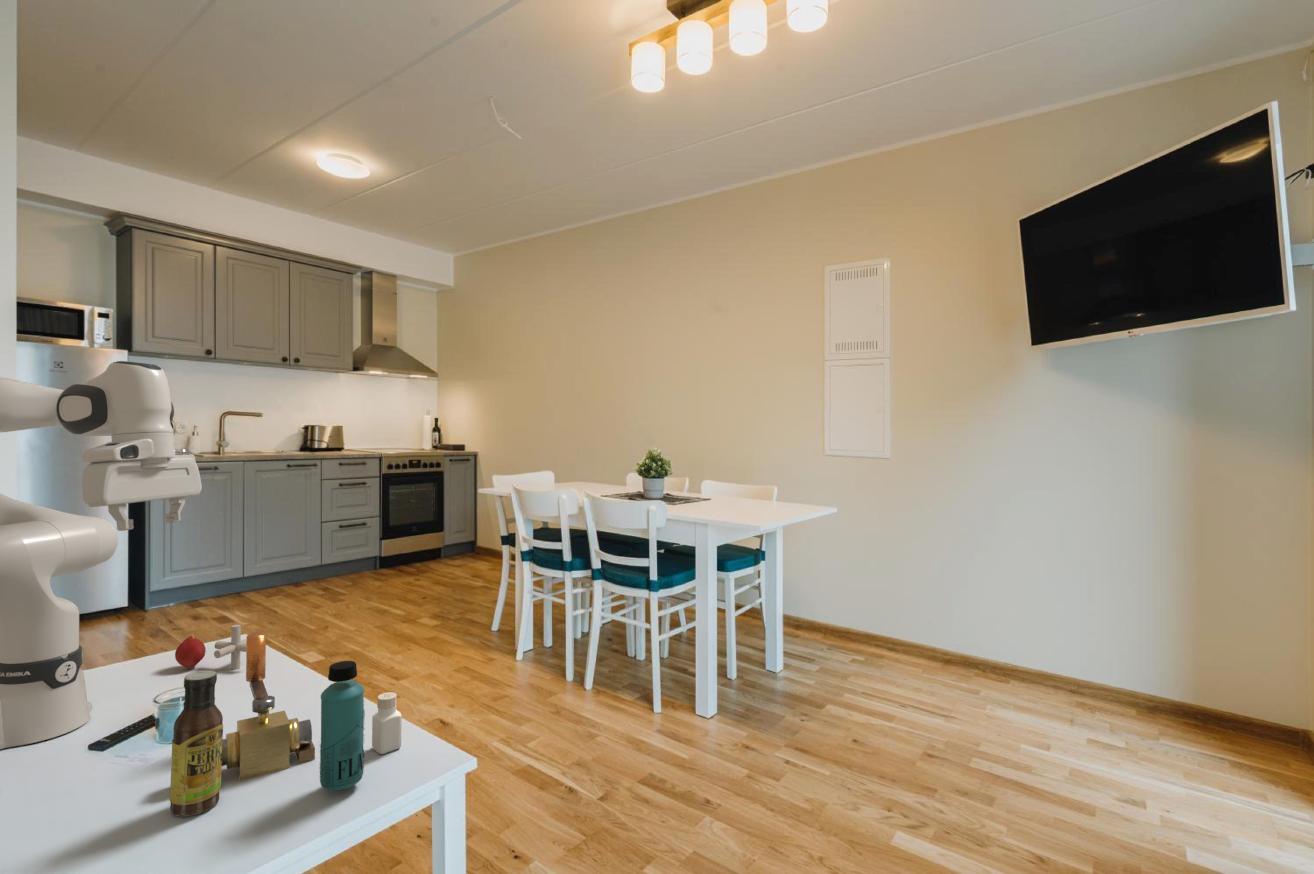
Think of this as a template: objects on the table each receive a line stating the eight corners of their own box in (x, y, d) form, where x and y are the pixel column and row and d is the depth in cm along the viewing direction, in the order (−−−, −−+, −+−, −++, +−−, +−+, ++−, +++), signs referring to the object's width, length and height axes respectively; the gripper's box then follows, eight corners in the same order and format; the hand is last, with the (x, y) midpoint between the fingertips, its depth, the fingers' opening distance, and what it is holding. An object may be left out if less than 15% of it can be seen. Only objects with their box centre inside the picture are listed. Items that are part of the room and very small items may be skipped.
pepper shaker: (370, 748, 114) (371, 695, 114) (392, 740, 117) (393, 689, 117) (380, 756, 111) (380, 702, 111) (402, 748, 114) (403, 695, 114)
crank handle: (275, 709, 107) (276, 655, 107) (253, 714, 105) (254, 658, 105) (264, 680, 119) (265, 631, 119) (244, 684, 117) (245, 634, 117)
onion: (168, 671, 147) (168, 637, 147) (190, 663, 153) (190, 629, 153) (190, 674, 146) (190, 639, 146) (211, 664, 152) (211, 631, 152)
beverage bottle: (334, 805, 97) (335, 674, 97) (309, 791, 100) (311, 665, 100) (373, 785, 102) (374, 661, 102) (348, 773, 106) (350, 653, 106)
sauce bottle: (187, 823, 92) (189, 686, 92) (159, 813, 94) (161, 679, 94) (231, 800, 98) (233, 671, 97) (204, 790, 100) (205, 664, 100)
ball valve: (182, 796, 98) (182, 735, 98) (181, 779, 103) (181, 720, 103) (315, 760, 110) (315, 705, 110) (309, 746, 114) (309, 693, 114)
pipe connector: (235, 678, 144) (236, 634, 144) (198, 673, 146) (199, 630, 146) (270, 662, 154) (271, 621, 154) (235, 658, 156) (236, 618, 156)
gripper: (179, 449, 126) (184, 519, 126) (71, 453, 106) (78, 536, 106) (207, 447, 125) (213, 517, 125) (104, 450, 105) (111, 534, 105)
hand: (150, 526), depth 115 cm, fingers open, 8 cm apart
